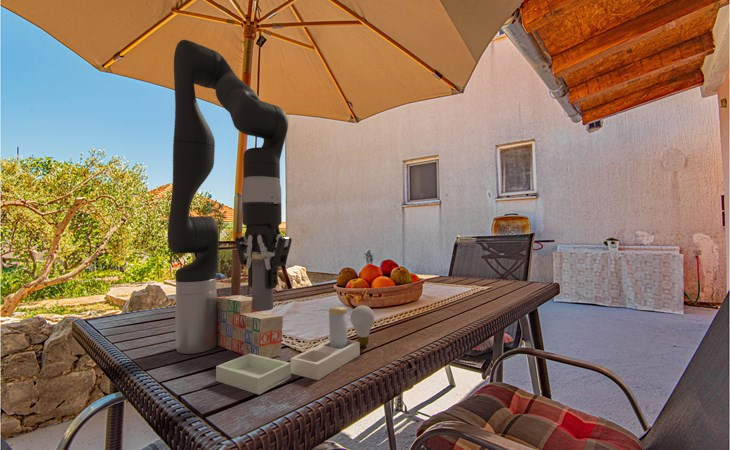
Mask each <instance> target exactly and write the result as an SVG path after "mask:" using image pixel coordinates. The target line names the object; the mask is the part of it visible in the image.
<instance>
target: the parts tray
mask: <svg viewBox="0 0 730 450" xmlns="http://www.w3.org/2000/svg"><path fill="white" fill-rule="evenodd" d="M215 369H216V370H215V375H216V376H215V379H216V382H219V383H221V384H225V385H227V386H231V387H234V388H238V389H240V390H244V391H247V392H249V393H253V394H256V395H261V394H264V393H265V392H267V391H268V390H270V389H272V388H274V387H276V386H278V385H279V384H282V383H283V382H286V381H287V380H289V379H291V378H292V373H291V362H288V361H284V360H279V359H274V358H267V357H263V356H259V355H254V354H250V353H249V354H246V355H242V356H239V357H237V358H234V359H232V360H229V361H226V362H224V363H221V364H218V365H216V367H215Z"/></svg>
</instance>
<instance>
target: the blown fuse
mask: <svg viewBox="0 0 730 450" xmlns="http://www.w3.org/2000/svg"><path fill="white" fill-rule="evenodd" d="M270 258H271V262H272V257H270ZM265 270H267V269H266V265H265V260H264V259H263V258H262V255H261V253H253V254H252V287H251V295H252V296H251V297H252V310H254V311H264V312H267V311H271V310H273V309H274V288H273V289H266V287H265Z"/></svg>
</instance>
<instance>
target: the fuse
mask: <svg viewBox="0 0 730 450" xmlns="http://www.w3.org/2000/svg"><path fill="white" fill-rule="evenodd" d="M328 313H329V314H328V315H329V317H328V318H329V319H328V320H329V321H328V323H329V324H328V325H329V340H330V347H333V348H338V349H343V348H345V347H347V346H348V340H349V339H348V308H347V307H346V306H332V307H329V308H328Z"/></svg>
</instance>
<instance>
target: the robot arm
mask: <svg viewBox="0 0 730 450" xmlns="http://www.w3.org/2000/svg"><path fill="white" fill-rule="evenodd" d="M173 80H174V81H173V83H174V84H173V85H174V101H175V102H174V105H175V106H174V109H175V110H174V111H175V112H174V125H173V126H174V129H173V143H172V186H171V187H172V188H171V190H172V191H171V199H170V207H169V208H170V209H169V214H168V215H169V217H168V223H167V244H168V247H169V250H170V252H172V253H174V254H175V255H177V254H178V255H181V254H182V255H183V254H185V255H186V254H196V255H197V256H196V257H195V259H194V260H193V261H191V263H188V264H187V265H185V266H182V267H180V268H178V269H177V270H176V271H175V309H176V310H175V311H174V320H175V321H174V326H175V327H174V328H175V329H174V330H175V331H174V333H175V334H174V335H175V344H174V345H175V349H176V352H177V353H178V354H184V355H185V354H186V355H187V354H188V355H189V354H199V353H203V352H206V351H210V350H213V349H215V348H216V347H218V345H217V297H218V296H217V293H218V292H217V271H218V266H219V265H218V264H219V242H220V241H219V239H220V238H219V237H220V236H219V235H220V234H219V226H218V224H217V222H216V220H215V219H214V218H213V217H210V216H190V210H191V206H192V201H193V198H194V196H195V195H196V193H197V192H198V190H199V189H200V188H201V186H202V185H203V183H204V182H205V181H206V179H207V178H208V177H209V176H210V174H211V172H212V170H213V168H214V165H215V148H216V146H215V145H216V144H215V143H216V142H215V138H214V134H213V132H212V130H211V128H210V125H209V124H208V122H207V121H206V119H205V117H204V115H203V113H202V111H201V109H200V107H199V104H198V101H197V97H196V96H197V95H196V90H195V89H196V88H195V85H197V86H199V87H202V88H203V87H204V88H206V89H213V90H215V96H216V99H217V101H218V102H219V103H220V105H221V106H222V107H223V108H224V109H225V110H226V111H227V112H228V113H229V115H230V118H231V120H232V124H233V126H234V128H235V129H236V130H237V131H239V132H240V133H242V134H244V135H247V136H251V137H255V138H259V139H263V141H262V142H263V144H262V145H261V147H250V148H248V149H246V150H245V151H244V153H243V161H242V163H243V164H242V165H243V167H242V168H243V179H242V180H243V182H242V187H241V188H242V191H241V200H242V201H241V202H242V203H241V205H242V206H241V210H242V211H241V212H242V217H241V219H242V221H241V222H242V225H244V226H245V227H246V229H245V232H244V235H242V236H236V237H235V238H234V242H235V245H236V250H237V254H238V258H239V262H240V263H239V264H240V265H241V266H246V268H247V270H248V272H247V275H248V276H247V277H248V281H247V282H248V286H249V287H250V288H252V254H253V253H261V255H262V258H263V259H264V260H265V265H266V269H267V270H265V287H266V289H273V290H274V289H276V287H277V285H278V269H279V268H280V267H285V266H286V265H287V261H288V257H289V253H290V249H291V244H292V241H293V239H292V237H291V236H285V235H283V234H281V231H280V225H281V224H282V186H281V167H280V166H281V165H280V164H281V162H280V161H281V156H282V151H283V148H284V146H285V140H286V137H287V133H288V128H289V119H288V116H287V113H286V112H285V111H284V109H283V108H282V107H280V106H277V105H275V104H272V103H269V102H266V101H262V100H260V96H258V94H257V93H256V91H254V89H252V88H251V87H250V86H249V85H248V84H246V82H244V81H243V80H242V79H241V78H239V76H237V74H236V72H234V69H232V67H231V65H230V64H229V63H228V61H227V60H226V59H225V57H224V56H223V55H222V54H221V53H219V52H217V51H216V50H213V49H211V48H209V47H206V46H204V45H202V44H199V43H197V42H193V41H191V40H188V39H181V40H180V41H179V42H177V44H176V47H175V51H174V54H173ZM270 257H272V262H271V258H270Z"/></svg>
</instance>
